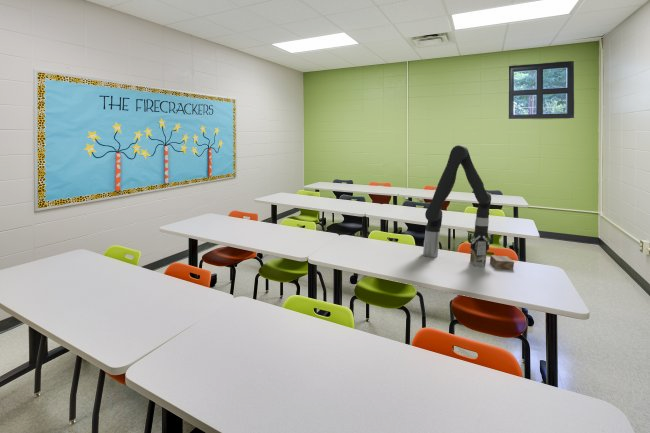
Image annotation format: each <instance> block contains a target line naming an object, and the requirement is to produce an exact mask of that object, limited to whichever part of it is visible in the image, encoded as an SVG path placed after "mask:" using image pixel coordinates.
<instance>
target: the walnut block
mask: <svg viewBox="0 0 650 433" xmlns="http://www.w3.org/2000/svg"><path fill="white" fill-rule="evenodd" d="M489 264H491V265H492V267H493V268H495V269H497V270H509V271H510V270H511V271H514V267H515V266H514V265H515V261H513V260H512V259H511V258H510V257H509V256H508V255H506V256H505V255H494V254H491V255H490V259H489Z"/></svg>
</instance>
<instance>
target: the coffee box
mask: <svg viewBox="0 0 650 433" xmlns="http://www.w3.org/2000/svg"><path fill="white" fill-rule="evenodd" d="M473 238H474V237H471V241H472V240H473ZM488 242H489V240H488V241H485V240H476V242H474V247H473V250H472V249H471V248H470V258H469V259H470V260H469V263H470V264H472V265H473V266H474V267H483V268H484V267H486V262H487V254H488V251H487V246H488Z"/></svg>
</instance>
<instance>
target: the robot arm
mask: <svg viewBox="0 0 650 433" xmlns="http://www.w3.org/2000/svg"><path fill="white" fill-rule="evenodd" d="M460 165H461V167H462V169H463V171H464V174H465V177H466V180H467V182H468V184H469V186H470V188H471V189H472V191H473V194H474V197H475V199H476V201H477V202H478V207H477V208H476V216H475V219H474V220H475V221H474V231H473V233H471V232H468V235H467V243H468V244H470V246H469V248H470V250H471V249H472V250H473V247H474V242H476V240H485V241H488V246H487V252H488V250H489V249H490V245H493V244H494V235H493V234H492V233H490V234H489V222H490V219H489V216H490V208H491V202H492V195H491V193H490V192H488V191H486V189H485V184H484V182H483V180H482V178H481V177H480V175H479V173H478V171H477V169H476V168H475V166H474V163H473V160H472V159H471V155H470V152H469V149H468V148H467V147H466V146H465V145H461V144H460V145H459V144H457V145H455V146H453V147H452V148H451V150H450V153H449V155H448V160H447V163H446V165H445V168H444V170H443V172H442V175H441V176H440V179H439V181H438V184H437V186H436V188H435V191H434V194H433V197H432V199H431V201H430V203H429V205H428V207H427V208H426V211H425V214H424V215H425V216H424V217H425V219H426V220H427V223H426V226H425V233H424V240H423V249H422V250H423V251H422V254H423V256H424V257H428V258H437V257H438V255H439V247H440V246H439V243H440V233H441V227H442V221H443V210H442V206H443V204H444V203H445V201H446V200H447V199H448V197H449V195H450V194H451V193H452V190H453V188H454V186H455V183H456V179H457V174H458V170H459V167H460ZM472 238H473V240H472ZM487 238H489V240H488V239H487ZM489 251H490V250H489Z"/></svg>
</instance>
